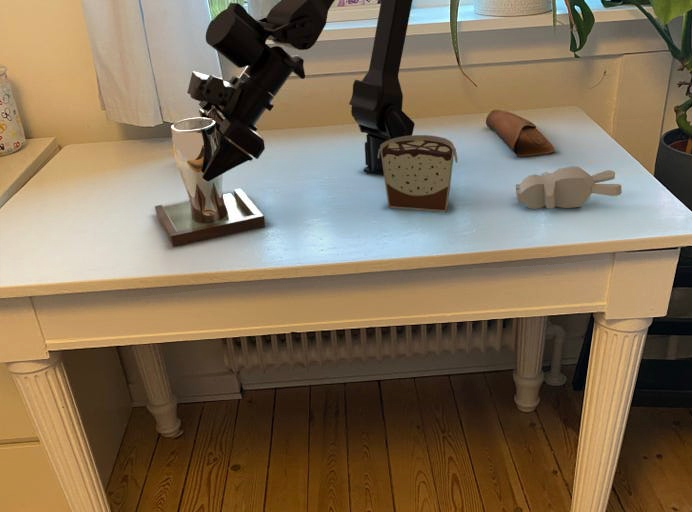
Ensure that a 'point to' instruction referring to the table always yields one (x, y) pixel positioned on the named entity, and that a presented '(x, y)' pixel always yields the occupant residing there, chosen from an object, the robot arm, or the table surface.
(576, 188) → the bunny figurine
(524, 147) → the sunglasses case
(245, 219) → the dock
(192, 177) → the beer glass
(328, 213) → the table surface
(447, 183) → the food container
